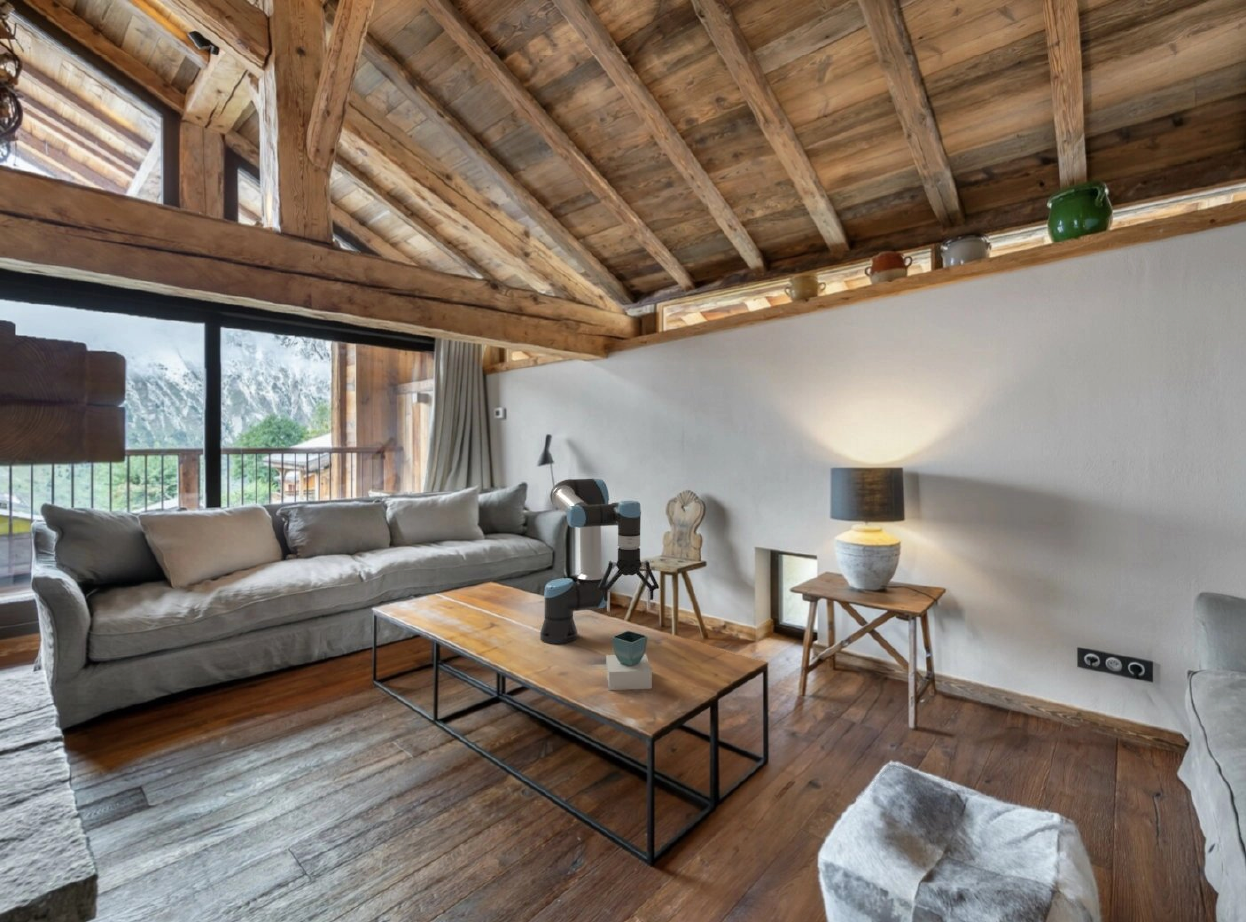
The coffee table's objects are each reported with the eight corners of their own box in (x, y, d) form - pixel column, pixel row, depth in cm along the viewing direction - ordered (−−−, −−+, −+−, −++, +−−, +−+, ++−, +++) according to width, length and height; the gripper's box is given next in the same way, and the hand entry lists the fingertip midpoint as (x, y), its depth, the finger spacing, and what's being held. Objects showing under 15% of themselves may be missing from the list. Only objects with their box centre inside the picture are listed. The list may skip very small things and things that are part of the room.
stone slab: (606, 672, 194) (606, 655, 194) (645, 670, 195) (645, 653, 195) (609, 690, 180) (609, 672, 180) (651, 688, 181) (651, 670, 181)
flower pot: (627, 655, 194) (627, 630, 193) (647, 661, 188) (648, 635, 188) (611, 663, 187) (611, 636, 187) (631, 670, 181) (632, 643, 181)
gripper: (592, 550, 181) (591, 614, 182) (667, 549, 183) (667, 612, 184) (591, 545, 188) (591, 607, 189) (663, 544, 191) (663, 605, 192)
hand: (628, 609), depth 187 cm, fingers open, 13 cm apart
